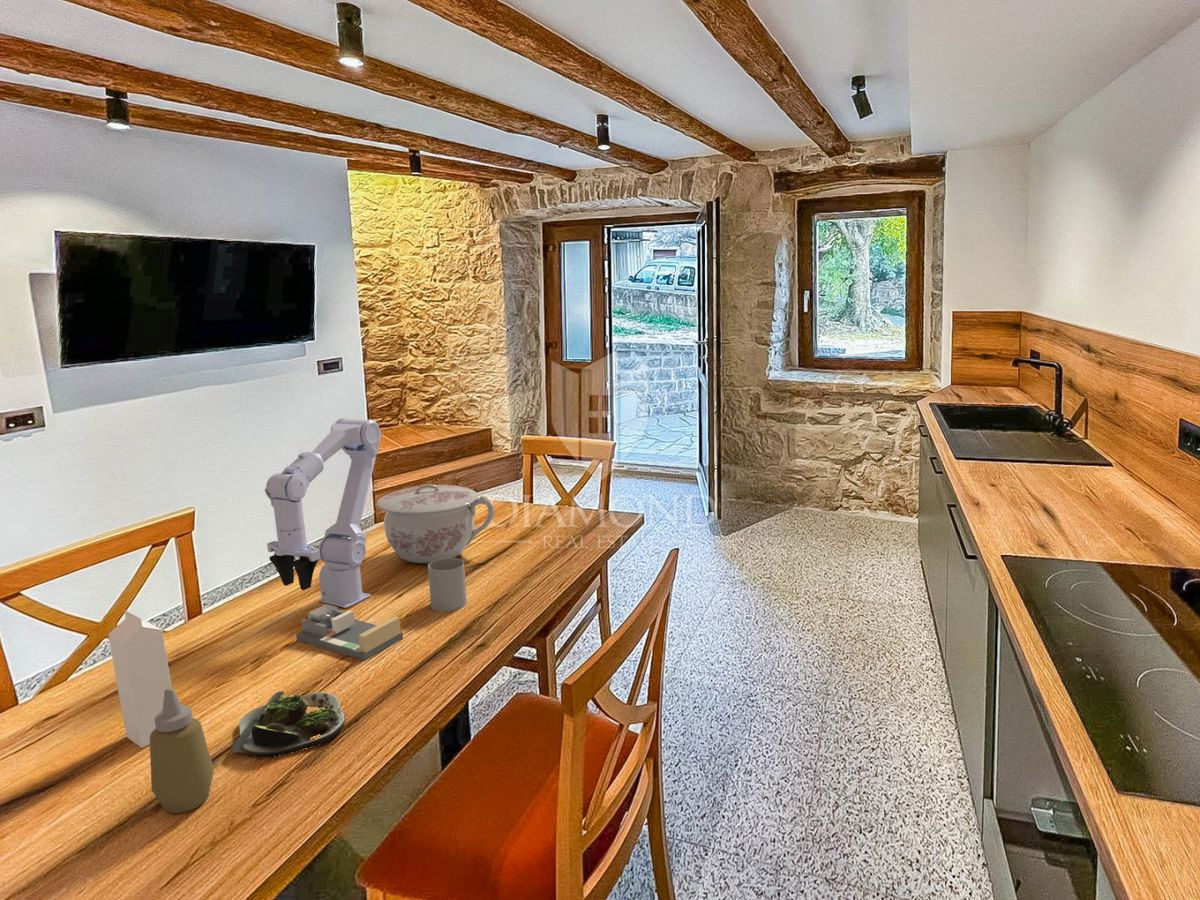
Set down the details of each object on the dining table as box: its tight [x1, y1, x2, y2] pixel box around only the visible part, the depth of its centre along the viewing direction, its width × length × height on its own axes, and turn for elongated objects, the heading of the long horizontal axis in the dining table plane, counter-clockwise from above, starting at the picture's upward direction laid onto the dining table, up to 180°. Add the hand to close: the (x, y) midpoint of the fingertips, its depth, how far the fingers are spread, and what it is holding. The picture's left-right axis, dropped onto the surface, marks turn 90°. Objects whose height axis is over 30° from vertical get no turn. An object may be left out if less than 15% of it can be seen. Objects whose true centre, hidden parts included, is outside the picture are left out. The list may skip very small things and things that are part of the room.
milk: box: [108, 610, 172, 749], centre depth 127 cm, size 6×6×22 cm
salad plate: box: [230, 690, 346, 758], centre depth 131 cm, size 19×18×5 cm
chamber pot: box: [376, 483, 495, 565], centre depth 211 cm, size 28×28×21 cm
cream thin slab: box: [326, 609, 355, 637], centre depth 162 cm, size 1×7×3 cm, turn 151°
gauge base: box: [295, 609, 404, 662], centre depth 163 cm, size 20×11×5 cm, turn 61°
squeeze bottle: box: [149, 688, 215, 814], centre depth 110 cm, size 8×8×18 cm
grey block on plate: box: [307, 603, 339, 628], centre depth 165 cm, size 6×5×4 cm
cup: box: [427, 557, 468, 612], centre depth 179 cm, size 8×8×10 cm
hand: (297, 586), depth 168 cm, fingers open, 5 cm apart
